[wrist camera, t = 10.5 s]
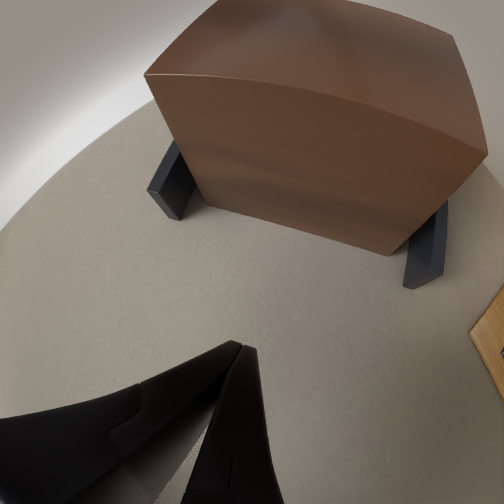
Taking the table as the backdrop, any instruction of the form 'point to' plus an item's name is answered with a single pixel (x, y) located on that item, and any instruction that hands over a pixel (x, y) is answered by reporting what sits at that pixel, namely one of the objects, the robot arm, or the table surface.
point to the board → (492, 339)
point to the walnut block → (321, 116)
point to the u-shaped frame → (421, 241)
